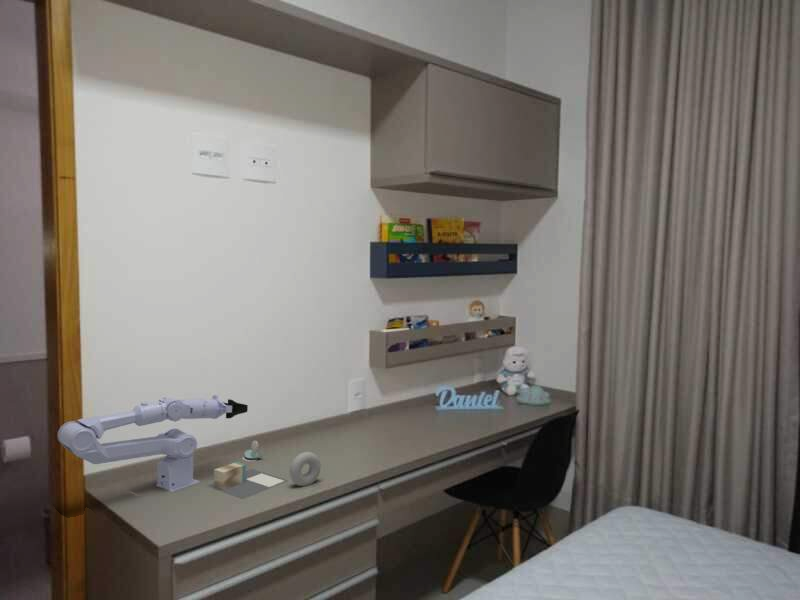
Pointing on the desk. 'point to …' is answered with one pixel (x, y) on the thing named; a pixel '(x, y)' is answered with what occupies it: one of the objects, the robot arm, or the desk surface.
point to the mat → (252, 484)
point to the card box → (229, 475)
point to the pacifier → (252, 452)
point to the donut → (312, 472)
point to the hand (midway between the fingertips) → (240, 408)
